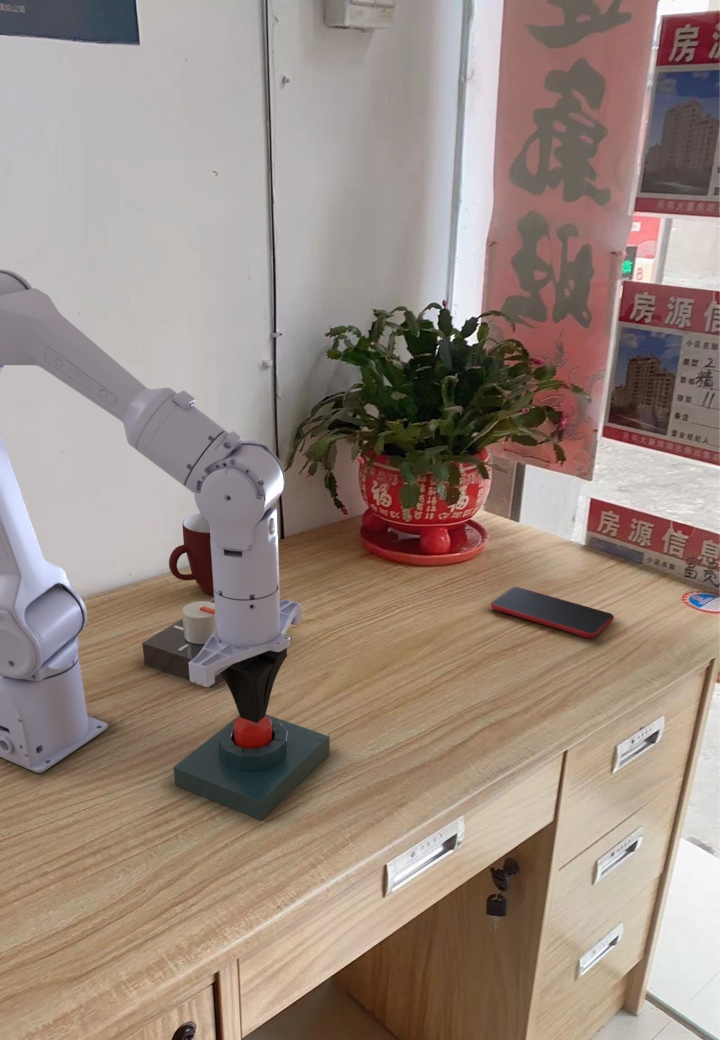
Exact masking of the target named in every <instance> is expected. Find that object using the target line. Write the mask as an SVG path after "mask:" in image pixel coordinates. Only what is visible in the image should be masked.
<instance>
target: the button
mask: <svg viewBox="0 0 720 1040" xmlns="http://www.w3.org/2000/svg"><path fill="white" fill-rule="evenodd" d="M236 718H237V717H236ZM271 740H272V723H271V720H270V719H269V718H268V717H267V716H265V717H264V718H263V719H261V720H260V721H259V722H258V723H255V722H252V721H249V720H246V719H243V718H241V717H239V718H237V719H236V720H235V722H234V741H235V743H236V744H237V745H238V746H240V747H243V748H260V747H263V746H266V745H268V744H269V743H270V742H271Z"/></svg>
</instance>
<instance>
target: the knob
mask: <svg viewBox="0 0 720 1040" xmlns="http://www.w3.org/2000/svg"><path fill="white" fill-rule="evenodd" d="M181 615H182V616H181V617H182V619H183V629H184V638H185V639H186V640H187V641H188V642H190V643H194V644H206V642H207V641H208V639H209V638H210V636H211V635H212V633H213V632H214V630H215V629H216V618H215V603H213V602H211V601H207V600H199V601H193V602H190V603H188V604H185V605H184V606H183V607H182V609H181Z"/></svg>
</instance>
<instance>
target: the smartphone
mask: <svg viewBox="0 0 720 1040" xmlns="http://www.w3.org/2000/svg"><path fill="white" fill-rule="evenodd" d="M490 607H491V608H492V609H493V610H494V611H498V612H501V613H505V614H508V615H511V616H514V617H518V618H521V619H524V620H527V621H531V622H534V623H537V624H540V625H544V626H547V627H551V628H554V629H558V630H561V631H564V632H566V633H570V634H573V635H575V636H579V637H582V638H586V639H594V638H596V637H597V636H598V635H599V634H600V633H601V632H602V631H603V630H604V629H606V627H607V626H608V625H610V623H612V622H613V621H614V620H615V616H614V614H612V613H610V612H607V611H604V610H600V609H597V608H593V607H590V606H586V605H582V604H579V603H575V602H572V601H568V600H564V599H562V598H558V597H555V596H550V595H548V594H544V593H541V592H536V591H533V590H529V589H526V588H522V587H519V586H512V587H511V588H509V589H508V590H506V591H505V592H504V593H502V594H501V595H500V596H498V597H497V598H495V599H493V600H492V601H491V602H490Z"/></svg>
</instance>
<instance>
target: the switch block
mask: <svg viewBox="0 0 720 1040" xmlns="http://www.w3.org/2000/svg"><path fill="white" fill-rule="evenodd" d="M265 716H267V717H268V718H269V719H270V720H271V723H272V740H271V742H270V743H269V744H268V745H266V746H263V747H260V748H243V747H240V746H238V745H237V744H236V743H235V741H234V722H235V720H236V719H237V718H239V717H240V715H239V714H238V716H236V717H235V718H233V720H231V721H230V722H229V723H227V725H225V726H224V727H223V728H222V729H220V730H219V731H217V732H216V733H215V734H214V735H212V736H211V737H210V738H208V739H207V740H206V741H205V742H203V743H202V744H201V745H200V746H198V747H197V748H196V749H194V750H193V751H192V752H191V753H190V754H188V755H187V756H186V757H184V758H183V759H181V760H180V761H179V762H177V764H176V765H174V766H173V776H174V785H175V787H178V788H180V789H183V790H184V791H185V790H186V791H188V792H191V793H193V794H196V795H198V796H201V797H203V798H205V799H207V800H210V801H212V802H215V803H218V804H220V805H222V806H225V807H227V808H229V809H232V810H234V811H237V812H239V813H242V814H244V815H246V816H249V817H252V818H254V819H256V820H260V821H262V820H263V819H264V818H265V817H266V816H267V815H268V814H269V813H270V812H271V811H272V810H274V809H275V808H276V807H277V806H278V805H279V804H280V803H281V802H282V801H283V800H284V799H285V798H286V797H287V796H288V795H289V794H290V793H291V792H292V791H293V790H294V789H295V788H296V787H297V786H298V785H299V784H300V783H301V782H302V781H304V779H305V778H307V776H309V775H310V774H311V772H312V771H314V770H315V769H316V768H317V767H318V766H319V765H320V764H321V763H322V762H323V761H324V760H325V759H326V758H327V757H328V756H330V749H331V748H330V744H331V743H330V741H331V739H330V738H331V737H330V736H329V735H327V734H324V733H321V732H318V731H315V730H313V729H310V728H308V727H304V726H300V725H298V724H295V723H292V722H289V721H286V720H283V719H281V718H278V717H275V716H272V715H270V714H267V713H266V714H265Z"/></svg>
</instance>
